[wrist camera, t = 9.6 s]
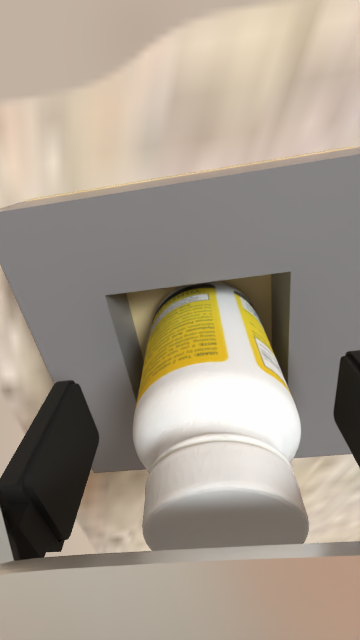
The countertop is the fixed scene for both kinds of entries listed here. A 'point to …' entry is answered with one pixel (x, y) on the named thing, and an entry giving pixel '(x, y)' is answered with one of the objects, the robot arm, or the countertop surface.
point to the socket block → (193, 279)
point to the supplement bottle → (216, 427)
